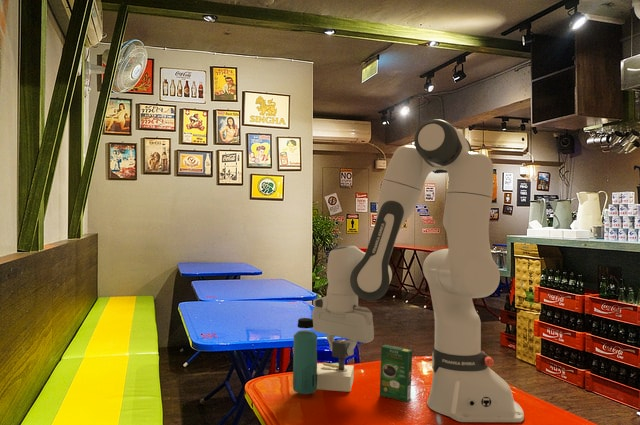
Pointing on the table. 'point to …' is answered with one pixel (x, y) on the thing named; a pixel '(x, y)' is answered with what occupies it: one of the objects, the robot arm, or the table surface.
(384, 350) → the coffee box
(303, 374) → the beverage bottle
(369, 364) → the table surface
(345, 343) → the dark box with stem
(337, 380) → the cream square baseplate
